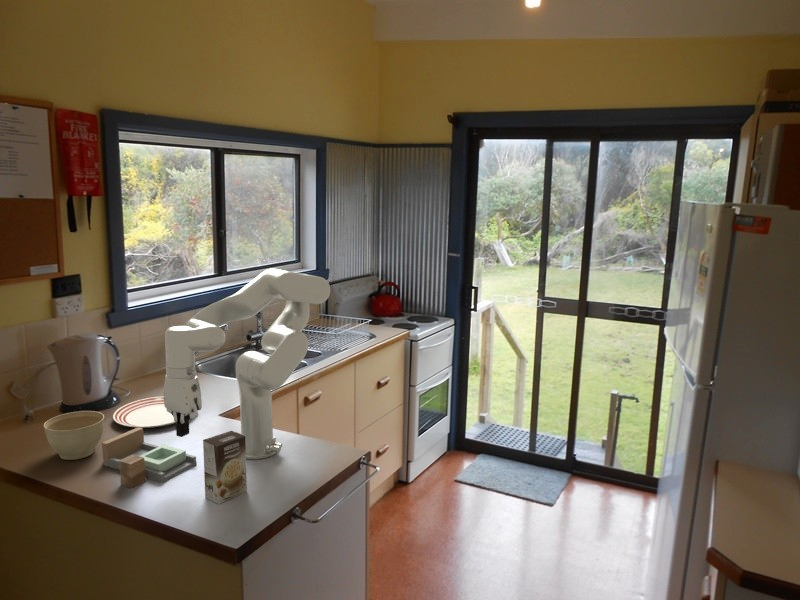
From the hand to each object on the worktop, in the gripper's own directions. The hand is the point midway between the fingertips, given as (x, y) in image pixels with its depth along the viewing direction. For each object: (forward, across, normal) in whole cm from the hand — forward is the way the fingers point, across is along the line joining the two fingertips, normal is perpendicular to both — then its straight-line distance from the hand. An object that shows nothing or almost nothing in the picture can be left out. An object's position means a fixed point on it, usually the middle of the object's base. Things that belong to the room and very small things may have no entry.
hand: (182, 434), depth 171 cm
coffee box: (+13, -17, +2) cm, 22 cm away
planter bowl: (+13, +40, +4) cm, 42 cm away
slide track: (+13, +15, -1) cm, 19 cm away
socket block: (+11, +10, -1) cm, 15 cm away
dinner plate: (+13, +42, -28) cm, 52 cm away
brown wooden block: (+13, +10, +9) cm, 19 cm away
